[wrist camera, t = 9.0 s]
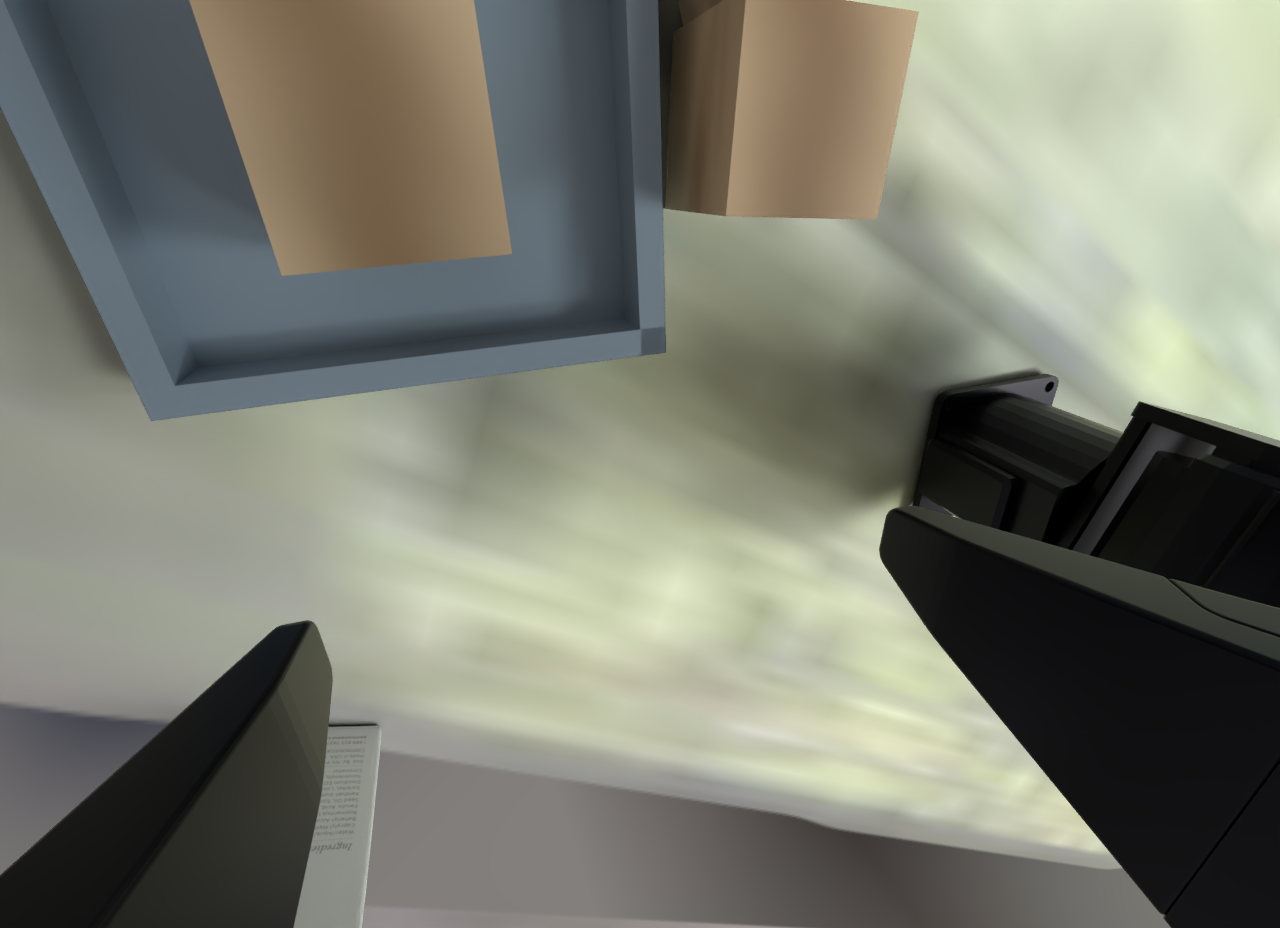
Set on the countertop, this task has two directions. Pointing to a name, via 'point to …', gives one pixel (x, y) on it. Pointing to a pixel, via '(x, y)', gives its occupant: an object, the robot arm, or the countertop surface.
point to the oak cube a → (361, 128)
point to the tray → (357, 298)
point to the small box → (342, 831)
